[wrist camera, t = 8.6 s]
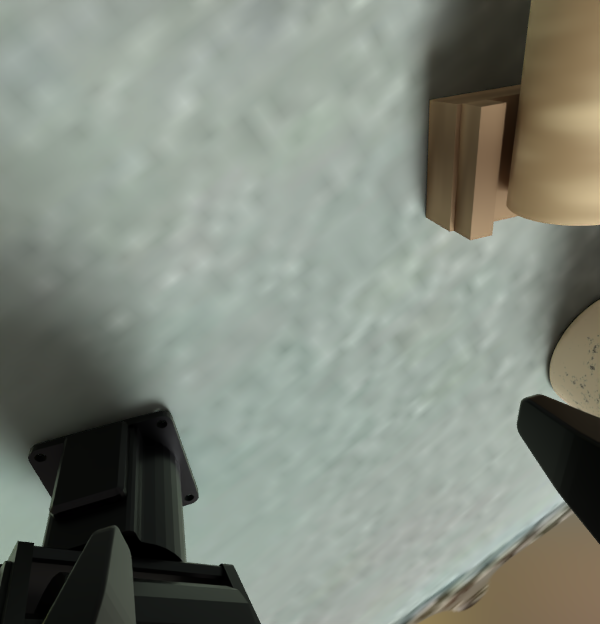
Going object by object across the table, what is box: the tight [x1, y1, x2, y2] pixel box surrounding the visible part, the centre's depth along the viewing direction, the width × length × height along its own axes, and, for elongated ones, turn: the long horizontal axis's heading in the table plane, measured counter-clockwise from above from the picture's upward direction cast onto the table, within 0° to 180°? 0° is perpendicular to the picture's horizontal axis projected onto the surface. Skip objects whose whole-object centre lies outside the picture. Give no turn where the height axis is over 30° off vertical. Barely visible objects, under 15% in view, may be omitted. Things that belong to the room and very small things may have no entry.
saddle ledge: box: [426, 84, 521, 240], centre depth 19 cm, size 5×8×3 cm, turn 97°
